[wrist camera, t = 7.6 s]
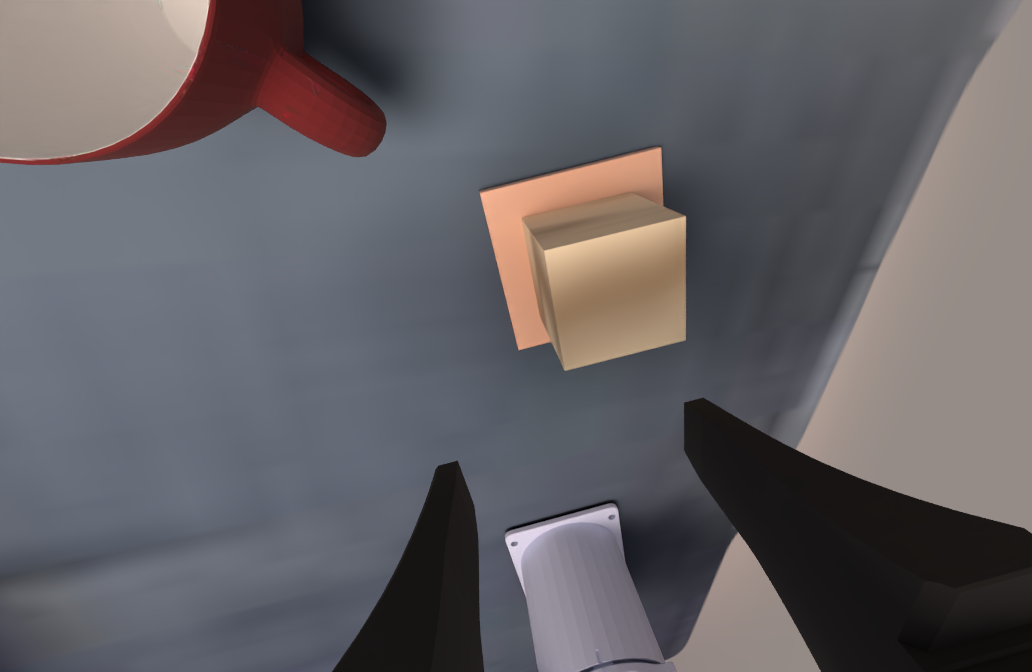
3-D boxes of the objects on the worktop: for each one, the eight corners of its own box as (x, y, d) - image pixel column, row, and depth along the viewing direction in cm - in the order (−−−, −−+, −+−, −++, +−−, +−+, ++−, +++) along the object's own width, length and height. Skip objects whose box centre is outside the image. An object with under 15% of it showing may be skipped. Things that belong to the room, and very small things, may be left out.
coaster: (661, 306, 22) (667, 311, 22) (516, 344, 22) (518, 350, 22) (654, 146, 18) (661, 147, 18) (479, 190, 18) (480, 193, 18)
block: (636, 293, 21) (685, 340, 17) (540, 316, 21) (564, 370, 17) (629, 191, 19) (685, 216, 14) (520, 217, 18) (543, 250, 14)
